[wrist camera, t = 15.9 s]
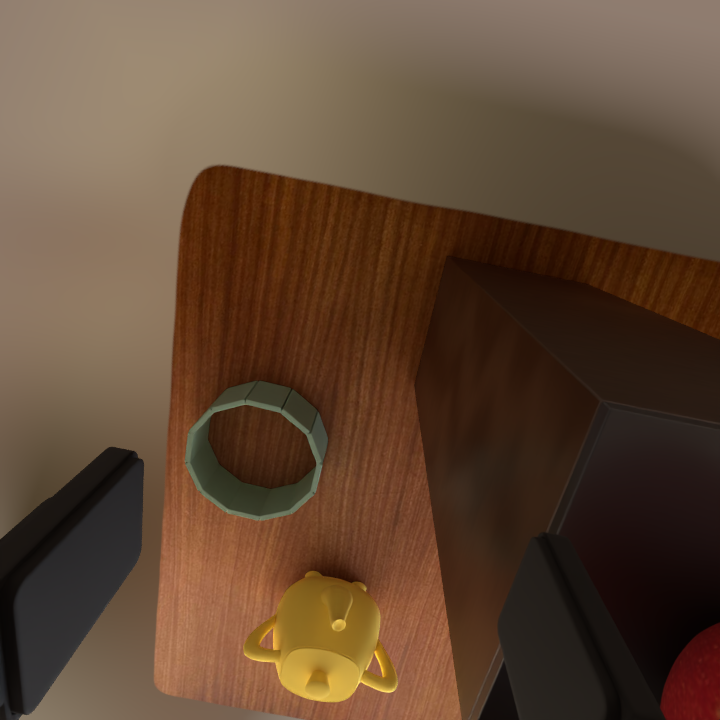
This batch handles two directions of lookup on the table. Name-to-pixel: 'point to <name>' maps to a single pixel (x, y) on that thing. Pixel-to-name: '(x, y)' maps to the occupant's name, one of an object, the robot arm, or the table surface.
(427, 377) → the stand
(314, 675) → the yellow two-handled pot
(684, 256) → the table surface
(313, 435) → the faceted green band
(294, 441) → the table surface
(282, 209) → the table surface
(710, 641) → the apple
